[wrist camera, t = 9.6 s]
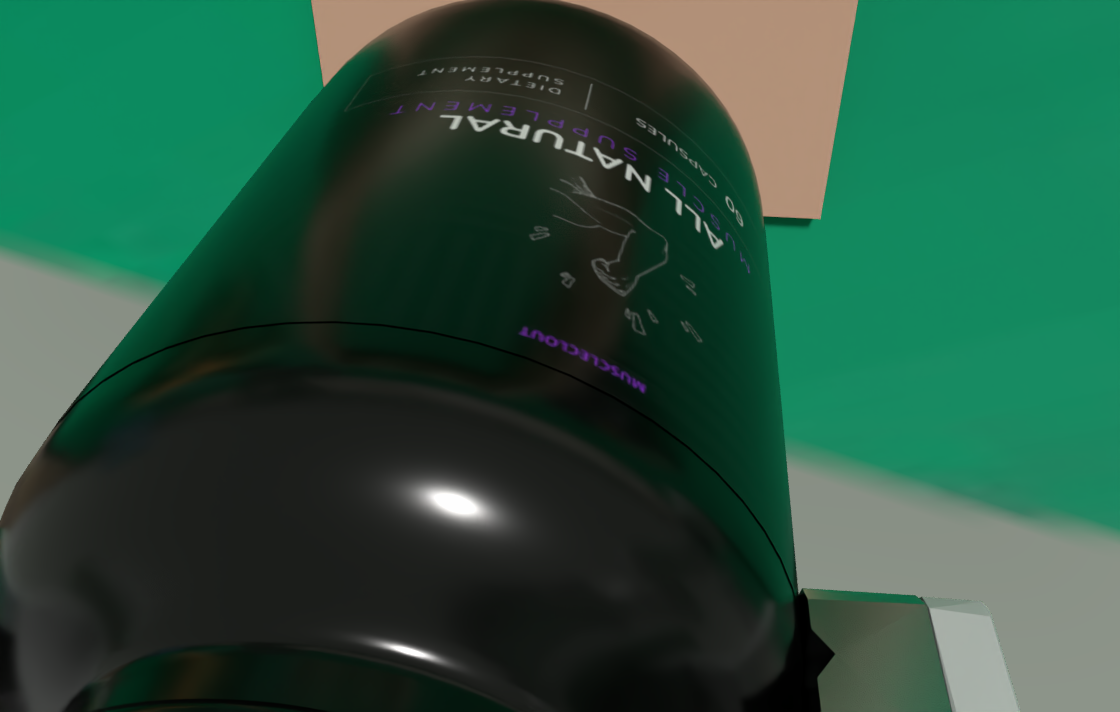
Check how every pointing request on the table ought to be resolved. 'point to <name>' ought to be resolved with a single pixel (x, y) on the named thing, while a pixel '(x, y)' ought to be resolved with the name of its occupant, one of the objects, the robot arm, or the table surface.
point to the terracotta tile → (703, 71)
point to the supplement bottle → (438, 411)
